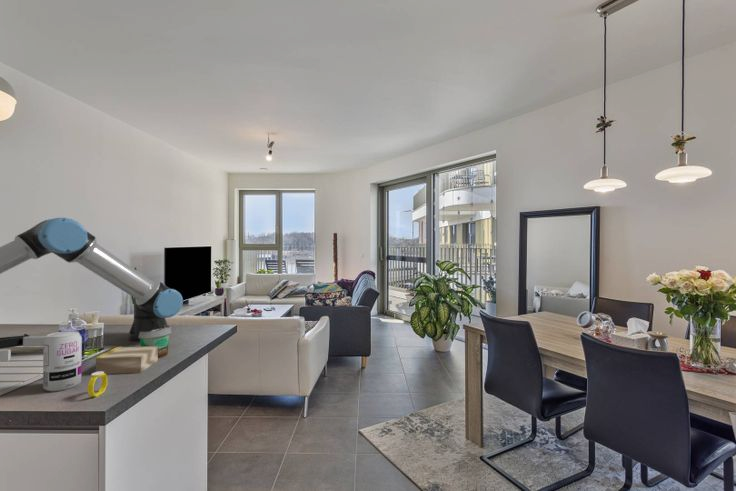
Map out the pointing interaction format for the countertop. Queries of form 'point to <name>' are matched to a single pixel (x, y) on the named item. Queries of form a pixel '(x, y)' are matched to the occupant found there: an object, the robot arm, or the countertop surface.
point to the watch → (92, 382)
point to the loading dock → (127, 359)
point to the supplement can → (62, 360)
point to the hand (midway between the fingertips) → (30, 347)
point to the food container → (157, 339)
